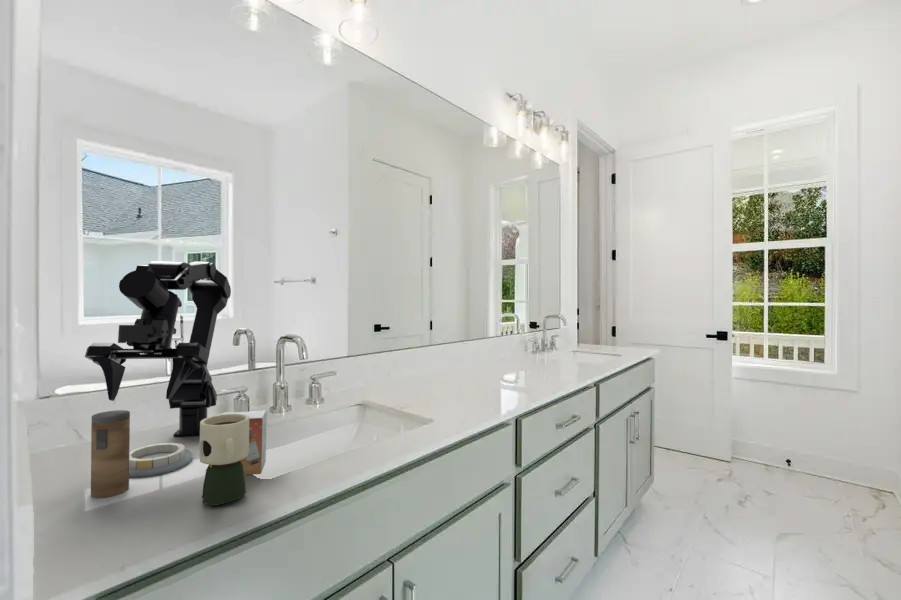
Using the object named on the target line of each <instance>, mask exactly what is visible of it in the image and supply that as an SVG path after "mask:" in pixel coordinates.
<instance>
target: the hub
mask: <svg viewBox="0 0 901 600" xmlns="http://www.w3.org/2000/svg"><path fill="white" fill-rule="evenodd" d="M192 455H193V453H192V452H191V451H190V450H189V449H186V446H185V445H184V444H183V443H176V442H163V443H160V442H159V443H155V444H154V443H153V444H149V445H143V446H140V447H138V448H135V449H132V450H129V478H146V477H147V478H148V477H153V476H159V475H164V474H167V473H171V472H175V471H177V470H179V469H181V468H183V467H186V466H187V465H189V464H190V463H191V462H192V458H193V457H192Z"/></svg>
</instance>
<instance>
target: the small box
mask: <svg viewBox="0 0 901 600" xmlns="http://www.w3.org/2000/svg"><path fill="white" fill-rule="evenodd" d="M222 414H245V415H248V416H249V453H248V456H247V457H246V458H244V459H242V460H240V461H241V463H242V465H243V470H244V476H247V475H249V476H250V475H261V474H262V473H263V469H264V468H265V464H266V462H267V460H266V458H267V457H266V456H267V419H268V418H267V416H268V410H266V409H265V410H264V409H263V410H254V411H236V412H235V411H233V412H232V411H231V412H228V411H226V412H225V411H224V412H222V413H221V414H220V415H222Z"/></svg>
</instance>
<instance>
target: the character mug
mask: <svg viewBox="0 0 901 600" xmlns="http://www.w3.org/2000/svg"><path fill="white" fill-rule="evenodd" d="M221 414H222V413H221ZM221 414H217V415H212V416H207V418H205V419H203V420H201V421H200V435H199V443H198V444H199V446H198V449H199V451H198V452H199V457H198V458H199V462H200V463H202V464H204V465H208V466H207V467H206V469H205V475H204V481H203V484H202V485H203V487H202V492H201V493H202V494H201V499H202V503H203V504H205V505H207V506H219V505H221V504H222V505H223V504H227V503H229V502H231V501H235V500H238V499H240V498H241V497H244V496H245V495H246V493H247V489H246V479H245V475H244V470H243V465H242V463H241V461H240V460H242V459H244V458H246V457H247V456H248V453H249V416H248V415H245V414H222V415H221ZM226 502H227V503H226Z"/></svg>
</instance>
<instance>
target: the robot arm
mask: <svg viewBox="0 0 901 600" xmlns="http://www.w3.org/2000/svg"><path fill="white" fill-rule="evenodd" d="M205 279H206V280H205ZM208 279H210V280H208ZM118 289H119V291H120V293H121V294H122V295H123V296H124V297H125V298H127V299H128V300H129V301H130V302H132V303H133V304H134V305H135V306H136V307H137V308H138V309H141V310H142V311H141V315H140V318H136V320H135V321H134V324H119V325H118V335H117V336H118V337H117V343H118V344H126V345H127V346H128V347H132V348H123V347H121V346H119V345H118V344H117V343H115V342H92V343H91V344H90V345H89V346H87V348H86V351H85V355H84V358H85V359H88V360H90V361H92V363H94V364H96V365H98V366H100V368H101V369H102V371H103V375H104V378H105V385H106V392H107V396H108V397H107V398H108V400H109V401H112V402H114V401H115V399H116V397H117V396H118V393H119V389H120V386H121V383H122V380H123V378H124V377H123V376H124V374H125V371H126V366H124V365H123V364H124V363H126V361H127V360H152V359H153V360H162V359H163V360H165V359H166V360H168V359H172V360H171V361H172V370H171V373H170V377H169V381H168V383H167V384H168V385H167V388H166V393H165V399H167V400H168V403H169V409H179V416H178V417H179V421H178V422H179V425H178V426H179V428H178V429H177V430H176V431H175V432H174V433H173V435H172V436H173V437H184V436H200V421H201V420H203V419H205V418H208V408H211V407H215V406H217V400H218V398H217V396H218V395H217V394H218V393H217V391H216V390H215V387H214V385H213V382H212V381H213V380H212V379H213V378H212V376H211V374H210V372H209V370H208V363H209V357H210V354H211V353H210V352H211V348H212V342H213V337H214V332H215V327H216V323H217V317H218V315H219V314H220V313H221V312H222V311H223V310H224V309H225V308H226V307H227V304H228V300H229V299H230V297H231V294H232V291H231V290H232V288H231V285H230V283H229V280H228V277H227V276H226V275H224V274H223V273H222V272H221V271H219V270H218V269H217V268H216V265H215V263H214V262H211V261H193V262H192V261H191V262H183V261H182V262H181V261H180V262H179V261H157V260H156V261H154V260H153V261H150V262H149V263H148V264H137V265H136V268H135V270H132V271H130V272H128V273H127V274H125V275H124V276H123V277H122V278H121V279H120V281H119V283H118ZM187 289H189V292H190V293H191V295H192V296H191V297H192V298H191V299H192V301H193V303H194V305H195V307H196V311H195V316H194V320H193V325H192V329H191V334H190V338H189V342H179V343H177V345H176V346H175V348H172V347H171V345H172V339H173V335H176V334H177V328H176V327H175V326H176V322H177V321H176V320H177V316H178V312H179V308H182V306H183V304H182V301H181V298H179V297H178V294H176V293H174V292H173V291H177V290H179V291H186V290H187ZM171 290H172V291H171Z"/></svg>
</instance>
